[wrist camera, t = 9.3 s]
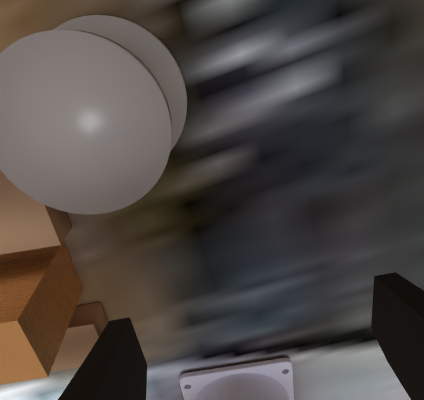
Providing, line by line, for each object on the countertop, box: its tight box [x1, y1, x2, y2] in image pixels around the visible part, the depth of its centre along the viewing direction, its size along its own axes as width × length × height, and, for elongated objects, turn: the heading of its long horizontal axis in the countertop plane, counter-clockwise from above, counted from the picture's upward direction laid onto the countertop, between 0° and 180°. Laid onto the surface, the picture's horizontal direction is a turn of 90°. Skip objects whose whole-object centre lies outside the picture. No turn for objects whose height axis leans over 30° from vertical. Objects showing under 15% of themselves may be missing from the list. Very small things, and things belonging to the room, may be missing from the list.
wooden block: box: [0, 240, 83, 385], centre depth 18 cm, size 4×4×6 cm
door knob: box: [0, 15, 187, 215], centre depth 14 cm, size 7×7×6 cm
